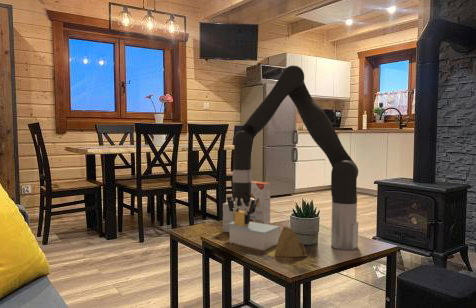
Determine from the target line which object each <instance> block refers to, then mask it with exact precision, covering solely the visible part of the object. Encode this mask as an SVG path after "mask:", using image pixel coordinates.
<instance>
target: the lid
mask: <svg viewBox="0 0 476 308" xmlns="http://www.w3.org/2000/svg"><path fill="white" fill-rule="evenodd" d="M228 225H230V226H229V228H231V229H236V230H242V231H247V232H253V233H258V234H263V235H265V234H268V233H270V232H273V231H275V230H278V229H279V230H280V229H281V226H280V225H273V224H270V225H268V224H262V223H256V222H249V224H245V212H244V211H241V210H240V211H236V212H234V222H231V223H228Z"/></svg>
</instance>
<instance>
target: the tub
mask: <svg viewBox="0 0 476 308" xmlns="http://www.w3.org/2000/svg"><path fill="white" fill-rule="evenodd" d="M279 238H280V229H278V230H275V231H273V232H270V233H268V234H265V235H263V234H258V233H253V232H247V231H242V230H236V229H231V228H230V232H229V238H228V239H229V242H228V243H229V244H232V243H234V244H233V245H236V244H238V245H237V246H241V245H242V247H247V248H251V249H256V250H260V251H266V250H268V249H270V248H272V247H274V246H275V247H276V246H277V243H278V241H279Z"/></svg>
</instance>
